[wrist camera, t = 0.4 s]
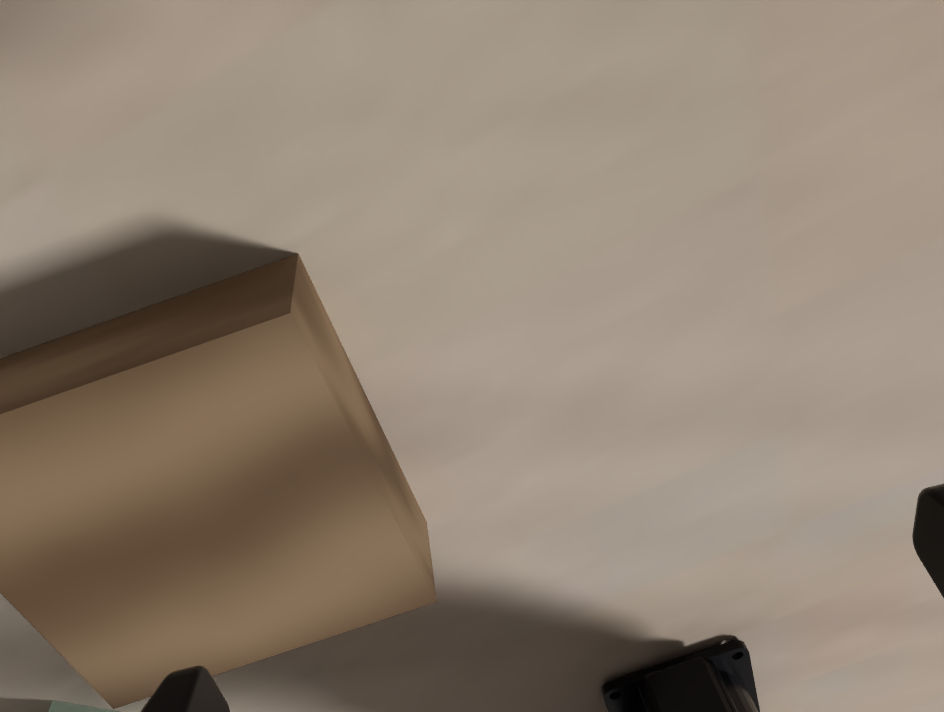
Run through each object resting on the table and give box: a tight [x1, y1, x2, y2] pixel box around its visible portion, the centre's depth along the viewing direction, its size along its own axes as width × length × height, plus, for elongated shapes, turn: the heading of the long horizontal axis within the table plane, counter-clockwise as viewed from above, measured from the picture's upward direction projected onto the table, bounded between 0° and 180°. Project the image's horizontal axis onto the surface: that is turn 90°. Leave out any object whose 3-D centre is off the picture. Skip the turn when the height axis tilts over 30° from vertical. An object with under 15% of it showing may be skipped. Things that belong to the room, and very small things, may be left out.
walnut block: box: [0, 254, 437, 709], centre depth 23 cm, size 11×11×4 cm
